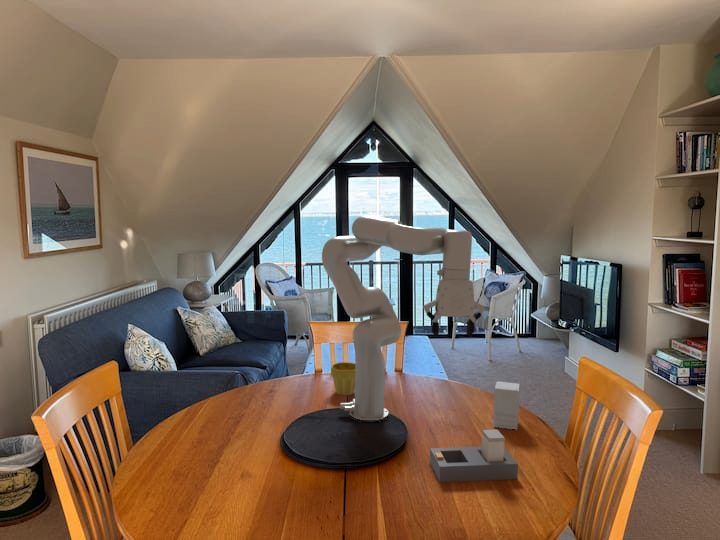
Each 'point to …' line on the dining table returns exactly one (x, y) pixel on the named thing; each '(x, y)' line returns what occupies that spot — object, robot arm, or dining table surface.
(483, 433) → the plug
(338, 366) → the plant pot
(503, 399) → the supplement box
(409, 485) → the dining table surface
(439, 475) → the power strip
